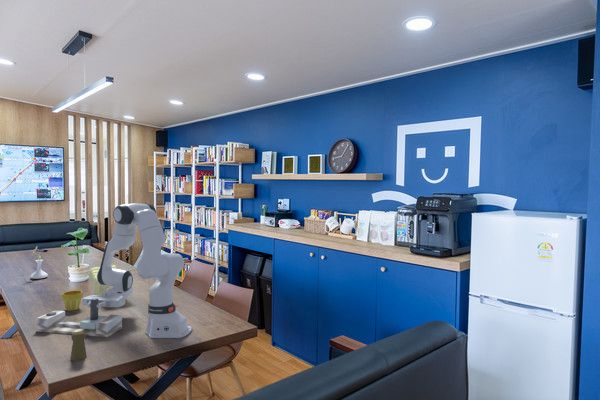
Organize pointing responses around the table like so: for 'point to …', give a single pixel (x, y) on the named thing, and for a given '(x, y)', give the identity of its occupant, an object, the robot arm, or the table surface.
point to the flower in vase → (38, 268)
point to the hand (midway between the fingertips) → (93, 305)
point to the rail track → (77, 325)
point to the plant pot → (72, 299)
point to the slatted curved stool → (96, 285)
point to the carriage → (92, 316)
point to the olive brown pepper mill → (78, 346)
